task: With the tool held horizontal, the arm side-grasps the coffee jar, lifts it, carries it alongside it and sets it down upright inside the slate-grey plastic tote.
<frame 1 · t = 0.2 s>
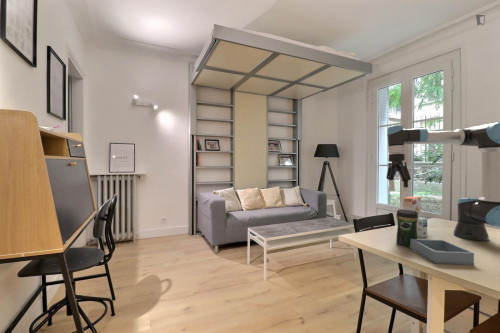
hand: (398, 192, 129), 27 cm above the table, tool pointing down, fingers open, 13 cm apart
cracker box: (411, 228, 157), on the table
coffee jar: (406, 245, 125), on the table
light bulb box: (415, 234, 144), on the table
tote: (439, 256, 110), on the table
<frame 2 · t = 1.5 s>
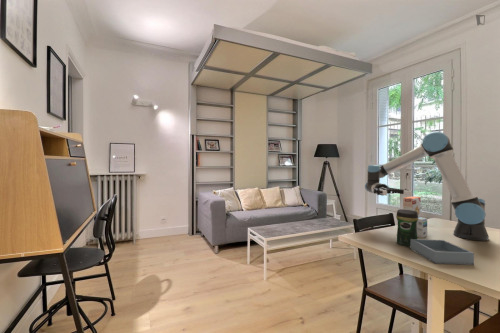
hand: (398, 193, 134), 26 cm above the table, tool horizontal, fingers open, 13 cm apart
nothing on the table moved.
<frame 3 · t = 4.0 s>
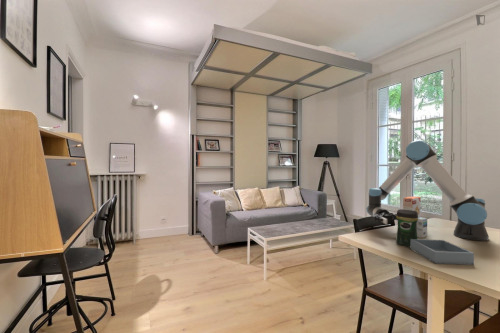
hand: (399, 222, 131), 10 cm above the table, tool horizontal, fingers open, 13 cm apart
nothing on the table moved.
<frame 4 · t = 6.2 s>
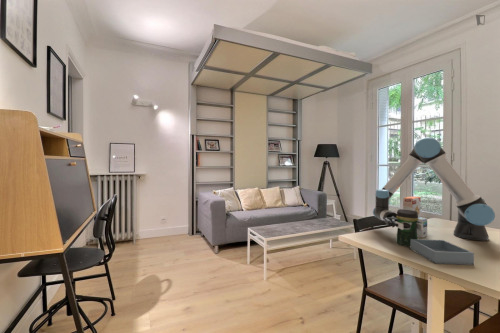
hand: (412, 227, 120), 11 cm above the table, tool horizontal, fingers closed on coffee jar, 9 cm apart
coffee jar: (406, 245, 125), on the table, touching gripper
everything else where it was.
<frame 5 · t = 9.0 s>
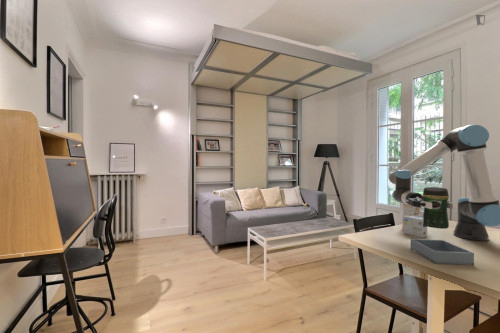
hand: (442, 206, 106), 24 cm above the table, tool horizontal, fingers closed on coffee jar, 9 cm apart
coffee jar: (435, 227, 111), point 13 cm above the table, touching gripper
everything else where it was.
when the fingers open (12 cm above the table, at t = 11.9 s): coffee jar stays where it is, resting on tote.
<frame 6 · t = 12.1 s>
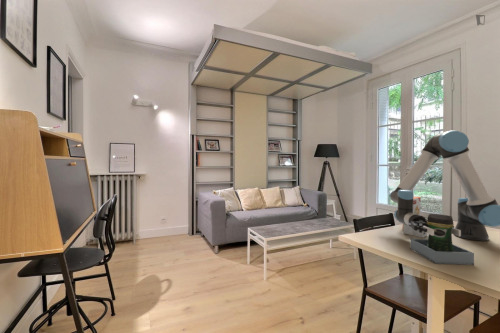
hand: (446, 233, 105), 12 cm above the table, tool horizontal, fingers open, 11 cm apart
coffee jar: (439, 254, 110), point 1 cm above the table, touching tote
everything else where it was.
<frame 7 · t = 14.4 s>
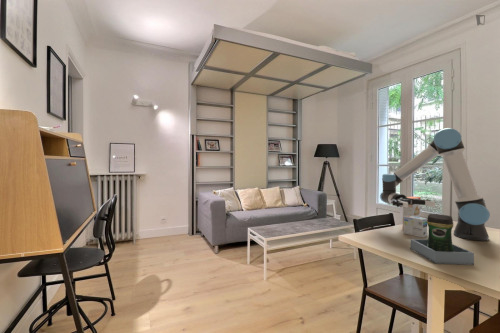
hand: (420, 204, 123), 21 cm above the table, tool horizontal, fingers open, 13 cm apart
nothing on the table moved.
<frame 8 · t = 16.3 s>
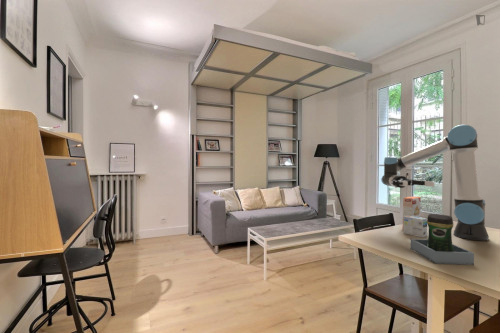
hand: (420, 184, 127), 32 cm above the table, tool horizontal, fingers open, 13 cm apart
nothing on the table moved.
at the end: coffee jar inside the target area on the tote (0.1 cm from its centre), point 0.6 cm above the tote's base; coffee jar tilted 0°; the gripper is holding nothing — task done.
